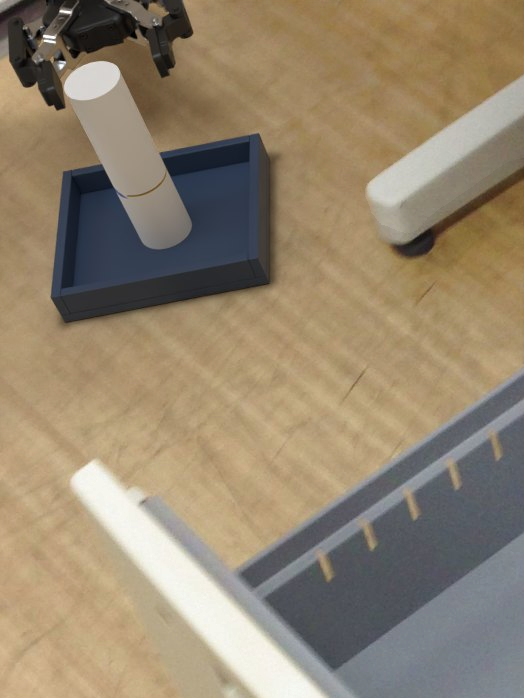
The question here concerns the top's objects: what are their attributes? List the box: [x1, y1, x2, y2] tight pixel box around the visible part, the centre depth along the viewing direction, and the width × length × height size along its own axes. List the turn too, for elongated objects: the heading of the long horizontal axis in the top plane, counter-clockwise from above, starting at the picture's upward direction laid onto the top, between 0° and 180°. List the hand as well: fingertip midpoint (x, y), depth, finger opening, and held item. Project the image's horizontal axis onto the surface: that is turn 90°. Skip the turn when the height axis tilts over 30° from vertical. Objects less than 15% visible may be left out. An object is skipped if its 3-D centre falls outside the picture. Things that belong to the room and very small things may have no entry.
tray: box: [50, 132, 271, 323], centre depth 144 cm, size 17×15×3 cm
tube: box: [63, 60, 192, 249], centre depth 139 cm, size 4×4×15 cm
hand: (109, 84), depth 140 cm, fingers open, 8 cm apart
